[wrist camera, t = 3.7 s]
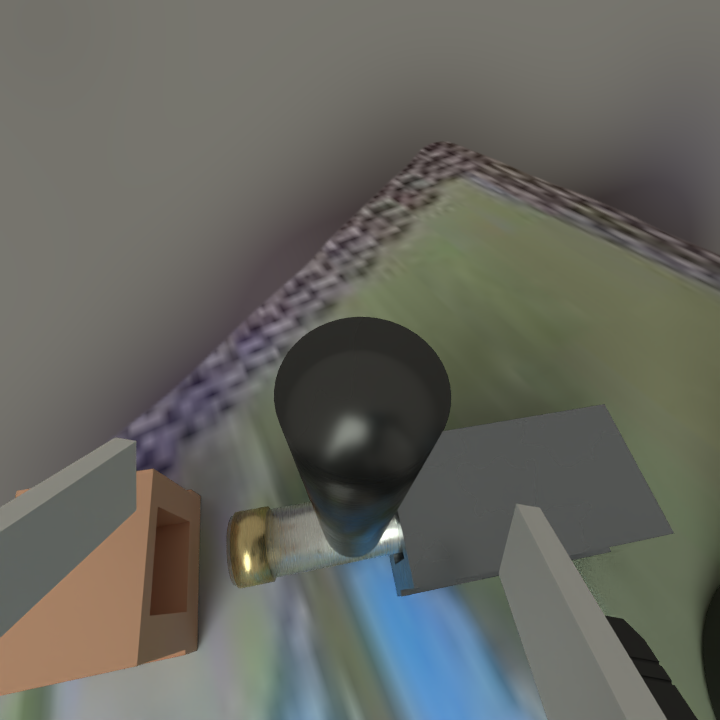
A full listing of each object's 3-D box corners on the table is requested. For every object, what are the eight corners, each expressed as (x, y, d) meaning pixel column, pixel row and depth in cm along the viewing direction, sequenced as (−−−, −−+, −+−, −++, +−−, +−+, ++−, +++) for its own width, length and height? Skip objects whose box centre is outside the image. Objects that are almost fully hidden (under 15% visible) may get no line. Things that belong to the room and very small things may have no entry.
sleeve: (544, 443, 27) (601, 399, 21) (591, 554, 24) (677, 540, 18) (373, 473, 26) (381, 435, 20) (397, 596, 22) (416, 596, 16)
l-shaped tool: (571, 458, 24) (940, 231, 9) (598, 518, 23) (1111, 359, 7) (241, 518, 22) (8, 350, 7) (243, 589, 20) (-62, 573, 5)
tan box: (200, 496, 25) (153, 464, 19) (197, 650, 21) (136, 672, 15) (99, 513, 24) (17, 486, 18) (76, 676, 20) (-39, 710, 14)
